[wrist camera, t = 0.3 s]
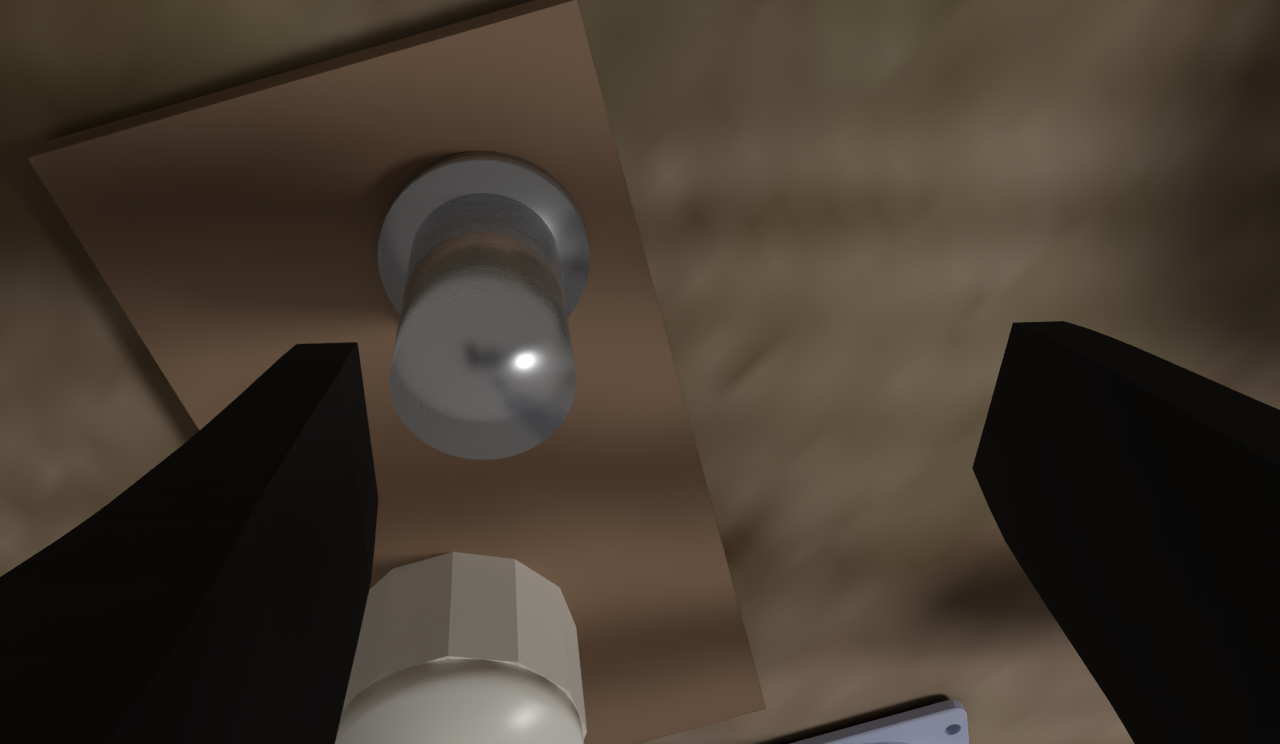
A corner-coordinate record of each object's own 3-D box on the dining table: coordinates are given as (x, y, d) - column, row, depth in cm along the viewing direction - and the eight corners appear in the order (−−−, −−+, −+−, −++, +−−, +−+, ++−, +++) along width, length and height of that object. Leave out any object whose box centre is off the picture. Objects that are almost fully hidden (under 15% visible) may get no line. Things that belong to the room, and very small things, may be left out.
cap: (596, 677, 25) (613, 812, 22) (398, 732, 26) (384, 875, 22) (535, 528, 22) (543, 659, 19) (310, 591, 22) (279, 733, 19)
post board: (757, 680, 28) (817, 878, 23) (435, 770, 28) (422, 985, 23) (572, -12, 17) (606, 73, 12) (49, 140, 17) (-133, 285, 12)
